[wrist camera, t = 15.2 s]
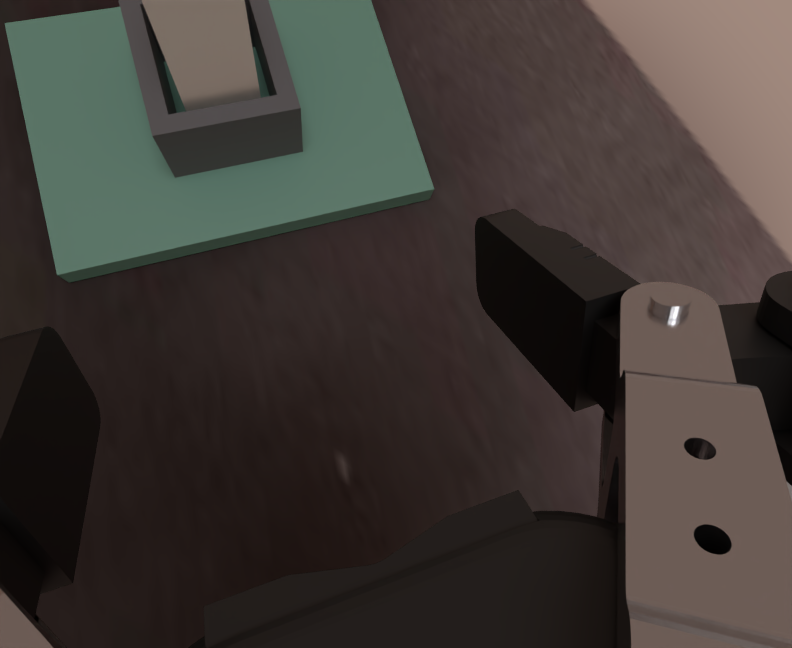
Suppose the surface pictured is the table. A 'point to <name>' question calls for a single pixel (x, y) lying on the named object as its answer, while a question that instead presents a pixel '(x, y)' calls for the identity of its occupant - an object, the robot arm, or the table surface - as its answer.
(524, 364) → the table surface
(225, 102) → the keyed plug
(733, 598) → the robot arm
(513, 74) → the table surface
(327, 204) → the header board
